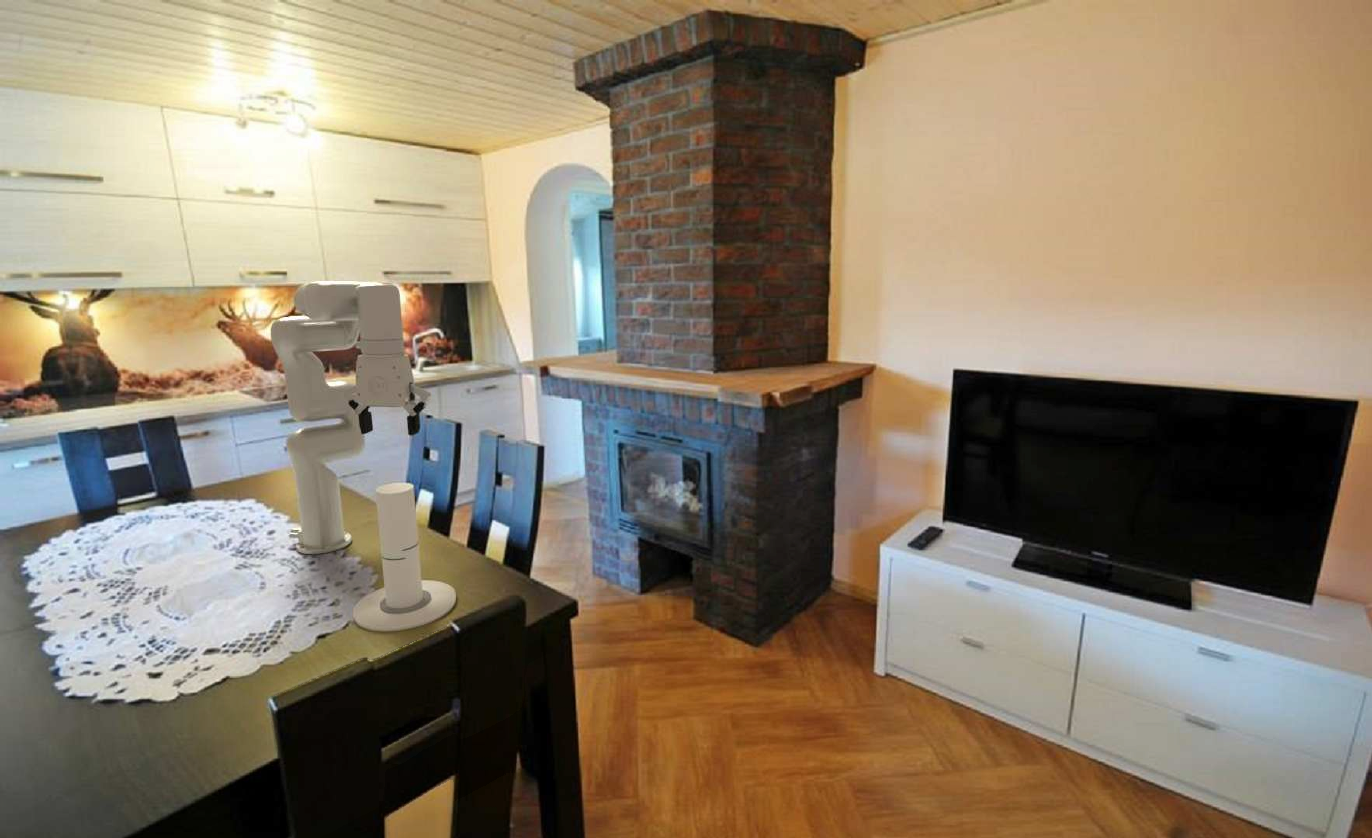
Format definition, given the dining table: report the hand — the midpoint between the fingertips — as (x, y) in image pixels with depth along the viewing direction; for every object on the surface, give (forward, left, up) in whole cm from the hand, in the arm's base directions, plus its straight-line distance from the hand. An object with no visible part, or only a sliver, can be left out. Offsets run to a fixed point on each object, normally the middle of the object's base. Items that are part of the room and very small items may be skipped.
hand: (390, 433), depth 125 cm
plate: (0, 0, -38) cm, 38 cm away
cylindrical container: (0, 0, -37) cm, 37 cm away
